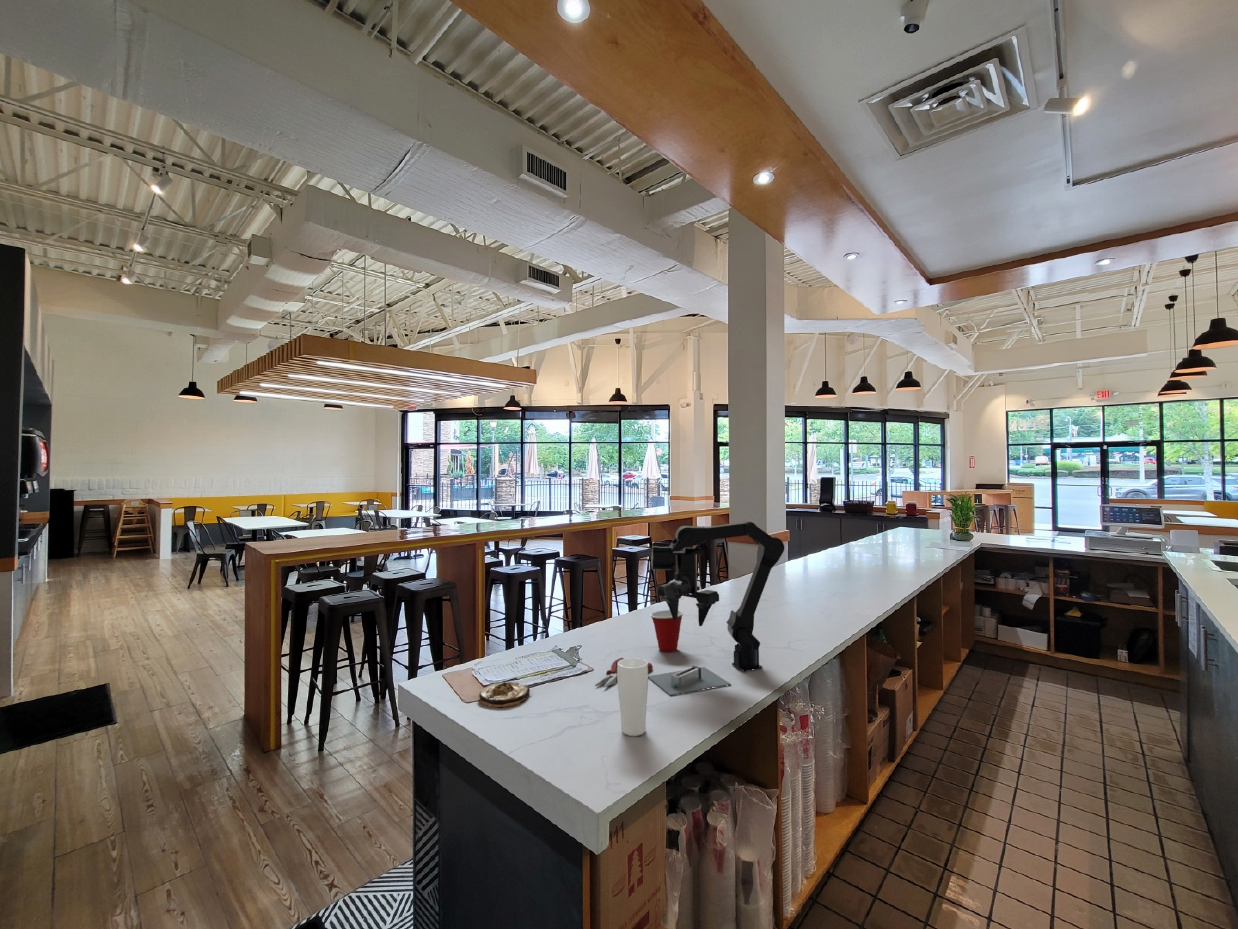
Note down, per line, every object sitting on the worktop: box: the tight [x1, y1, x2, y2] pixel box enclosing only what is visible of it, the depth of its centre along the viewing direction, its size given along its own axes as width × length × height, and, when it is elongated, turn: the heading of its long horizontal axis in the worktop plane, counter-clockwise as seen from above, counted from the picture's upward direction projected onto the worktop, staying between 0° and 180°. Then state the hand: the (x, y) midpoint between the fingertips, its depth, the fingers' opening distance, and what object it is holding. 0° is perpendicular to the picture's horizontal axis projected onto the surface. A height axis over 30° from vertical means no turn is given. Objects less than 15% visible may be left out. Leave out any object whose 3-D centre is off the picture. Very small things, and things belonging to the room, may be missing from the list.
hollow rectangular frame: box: [671, 665, 701, 688], centre depth 145 cm, size 3×3×11 cm
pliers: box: [594, 657, 654, 688], centre depth 151 cm, size 12×20×3 cm, turn 148°
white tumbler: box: [616, 657, 649, 737], centre depth 118 cm, size 7×7×15 cm
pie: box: [478, 680, 532, 709], centre depth 138 cm, size 15×15×4 cm
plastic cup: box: [649, 609, 684, 653], centre depth 175 cm, size 11×11×12 cm
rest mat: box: [648, 666, 732, 697], centre depth 147 cm, size 18×14×1 cm
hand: (687, 623), depth 157 cm, fingers open, 9 cm apart
